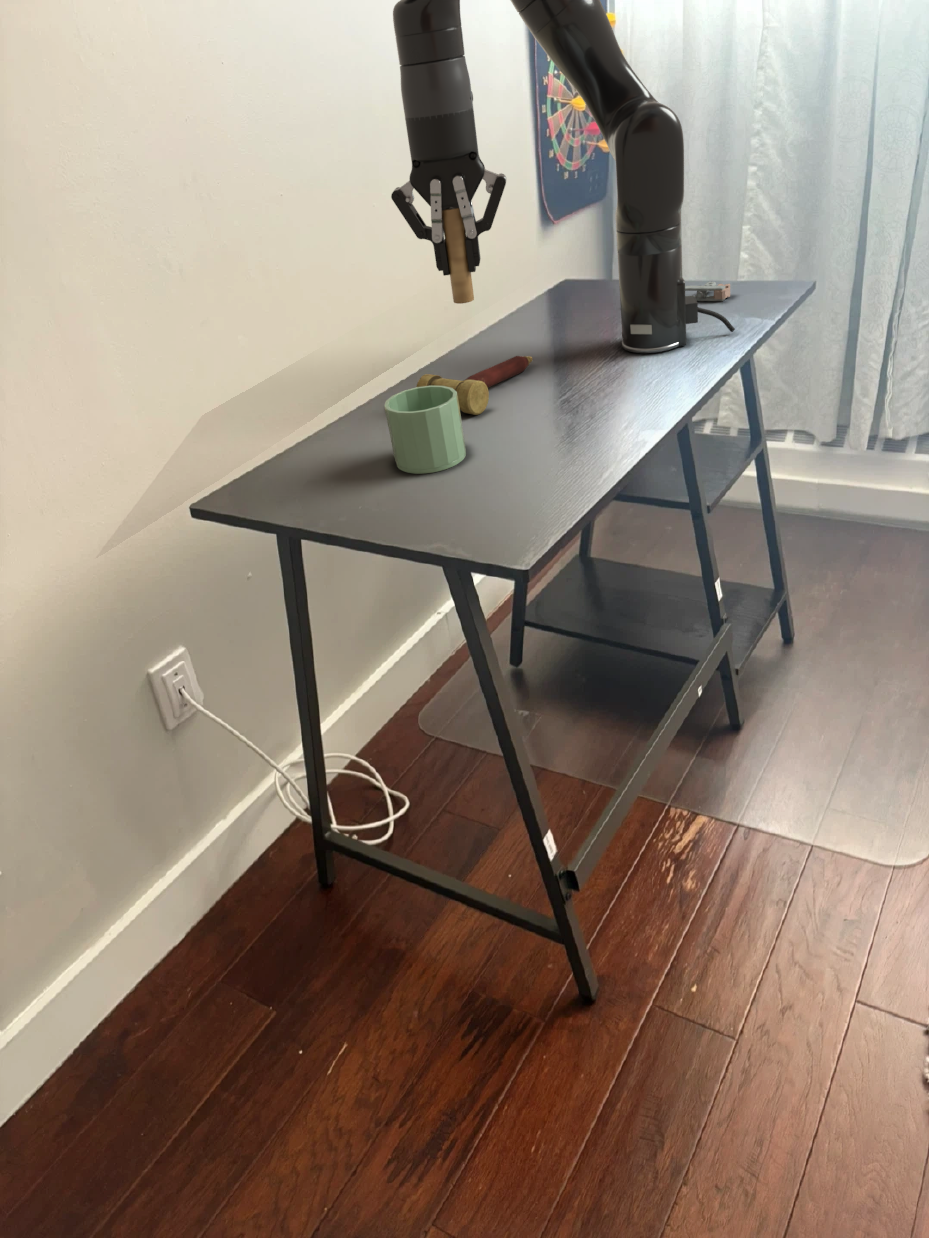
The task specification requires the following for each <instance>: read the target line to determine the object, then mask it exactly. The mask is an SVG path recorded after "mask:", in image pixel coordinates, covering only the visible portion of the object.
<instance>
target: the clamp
mask: <svg viewBox="0 0 929 1238" xmlns="http://www.w3.org/2000/svg"><path fill="white" fill-rule="evenodd" d="M685 292H696V294H695V295H693V296H694V298H695V299H696V301H697V302H723V301H725V300H726V298H727V299H728V298H730V297H731V283H725V284H723V283H718V284H717V282H716V281H707V282H706V283H705V284H704V285H685ZM709 292H713V295H708V293H709Z"/></svg>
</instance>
